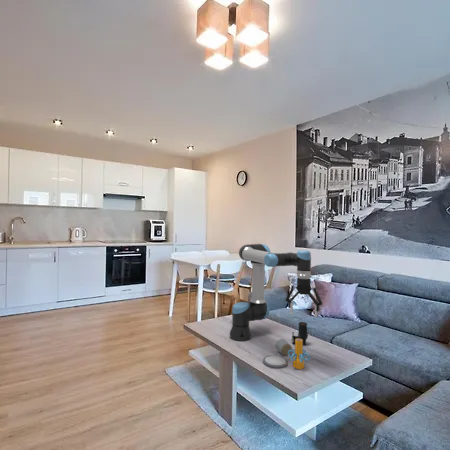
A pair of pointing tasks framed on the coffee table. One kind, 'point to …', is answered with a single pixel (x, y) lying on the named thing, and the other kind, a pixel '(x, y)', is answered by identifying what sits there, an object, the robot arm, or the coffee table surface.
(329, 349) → the coffee table surface
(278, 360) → the plate
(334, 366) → the coffee table surface
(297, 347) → the cylinder
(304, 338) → the scope
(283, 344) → the ceramic mug
